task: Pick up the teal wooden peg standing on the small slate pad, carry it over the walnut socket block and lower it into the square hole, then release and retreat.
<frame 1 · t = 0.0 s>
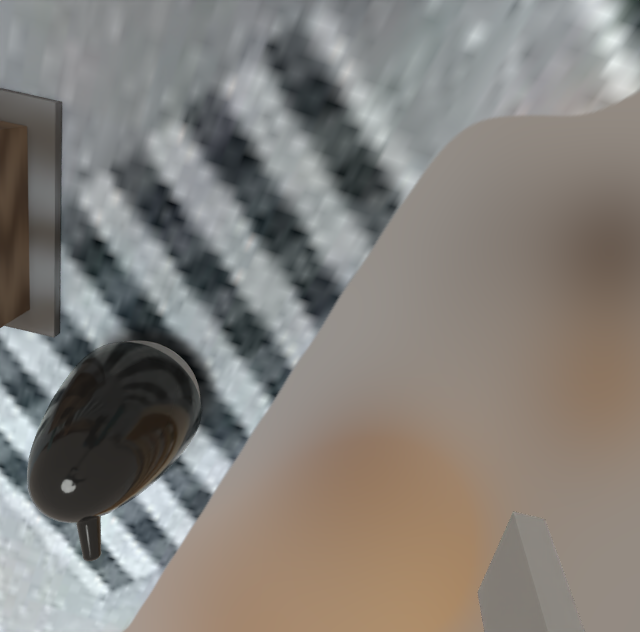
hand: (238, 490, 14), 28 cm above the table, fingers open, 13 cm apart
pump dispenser: (156, 378, 46), on the table
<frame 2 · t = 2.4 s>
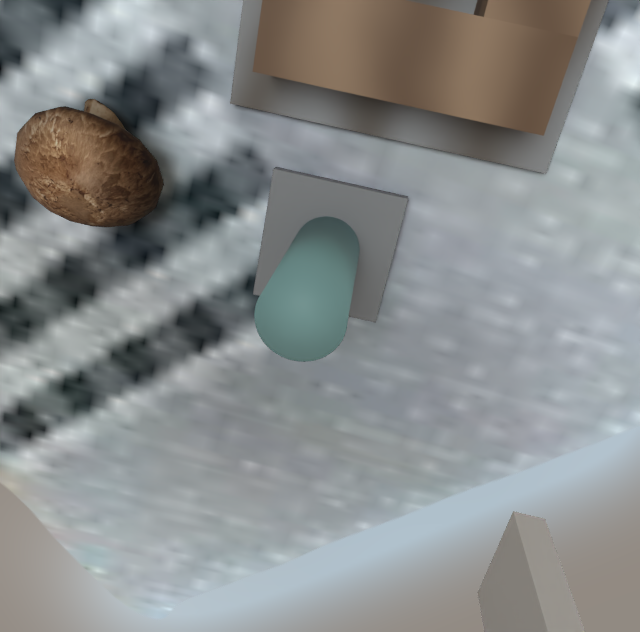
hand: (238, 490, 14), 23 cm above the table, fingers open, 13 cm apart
peg: (326, 248, 34), point 1 cm above the table, touching pad
pad: (328, 245, 35), on the table
mushroom: (114, 163, 34), on the table
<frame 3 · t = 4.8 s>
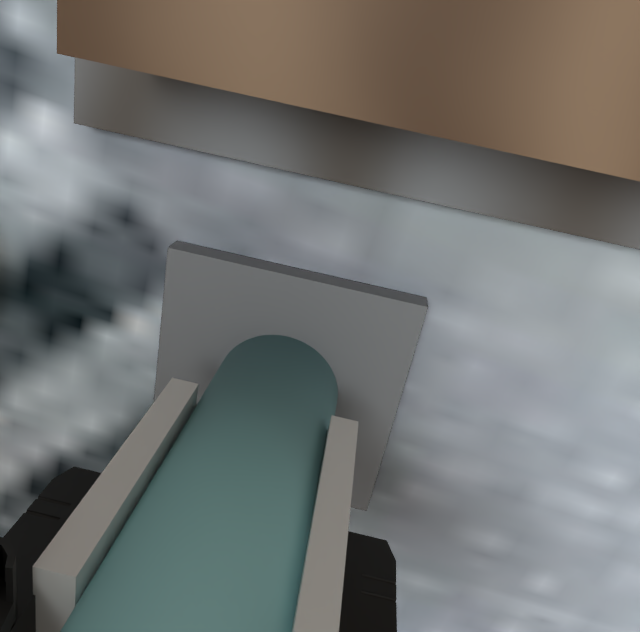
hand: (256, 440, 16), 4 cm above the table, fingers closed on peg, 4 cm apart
peg: (277, 390, 18), point 1 cm above the table, touching gripper, pad
pad: (279, 378, 19), on the table
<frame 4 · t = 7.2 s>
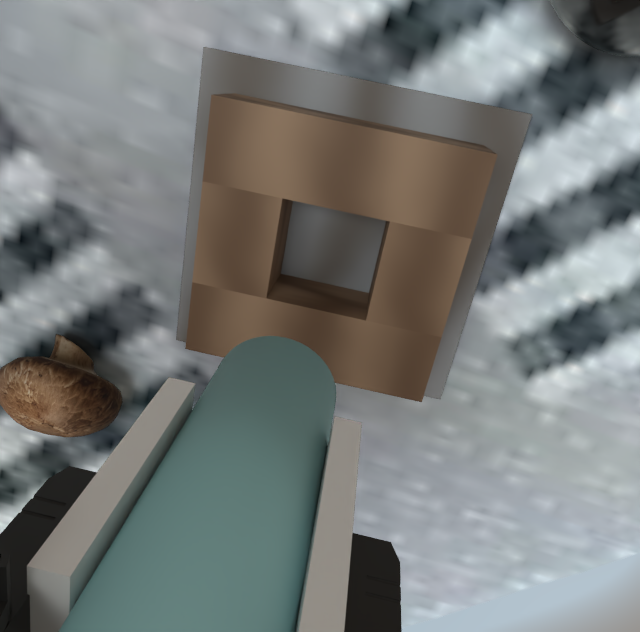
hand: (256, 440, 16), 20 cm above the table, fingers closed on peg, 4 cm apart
peg: (275, 391, 18), point 18 cm above the table, touching gripper
mushroom: (82, 372, 41), on the table
socket: (334, 236, 34), on the table
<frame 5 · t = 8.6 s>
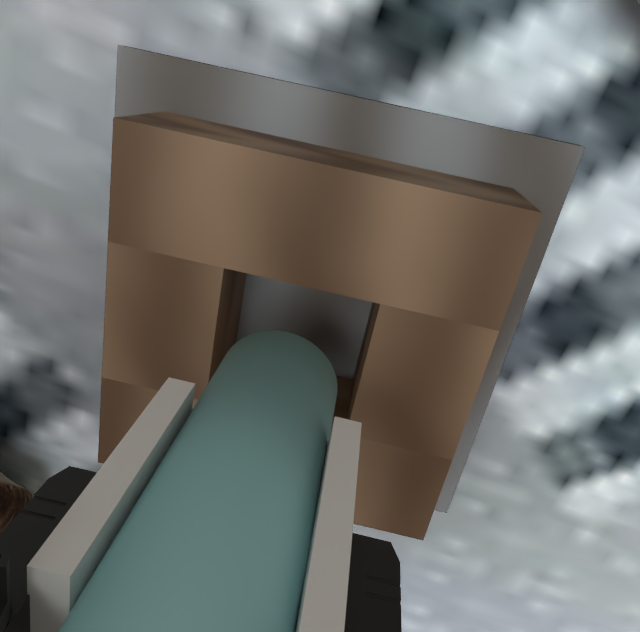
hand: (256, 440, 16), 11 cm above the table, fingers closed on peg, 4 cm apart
peg: (277, 385, 19), point 7 cm above the table, touching gripper
socket: (307, 304, 25), on the table
when the fingers open (7 cm above the table, at t = 9.5 s): peg drops 3 cm, resting on socket.
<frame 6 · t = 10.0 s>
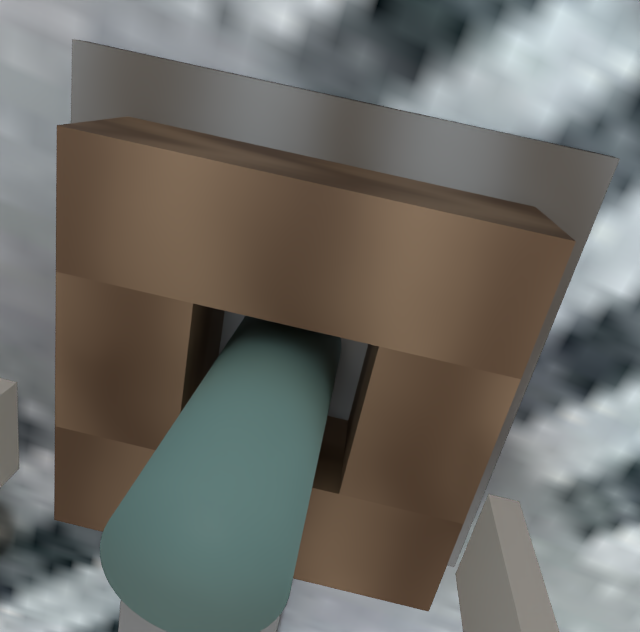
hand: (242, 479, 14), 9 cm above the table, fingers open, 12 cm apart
peg: (289, 343, 21), point 1 cm above the table, touching socket
pad: (202, 601, 29), on the table
socket: (296, 335, 22), on the table
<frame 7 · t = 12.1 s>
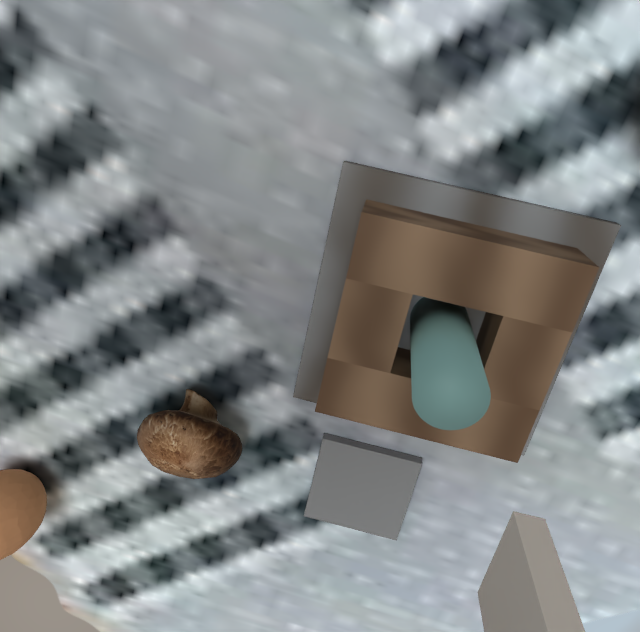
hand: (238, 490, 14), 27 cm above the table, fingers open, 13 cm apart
peg: (438, 319, 39), point 1 cm above the table, touching socket
pad: (361, 484, 46), on the table
egg: (32, 480, 51), on the table
mushroom: (203, 420, 46), on the table
socket: (439, 315, 40), on the table
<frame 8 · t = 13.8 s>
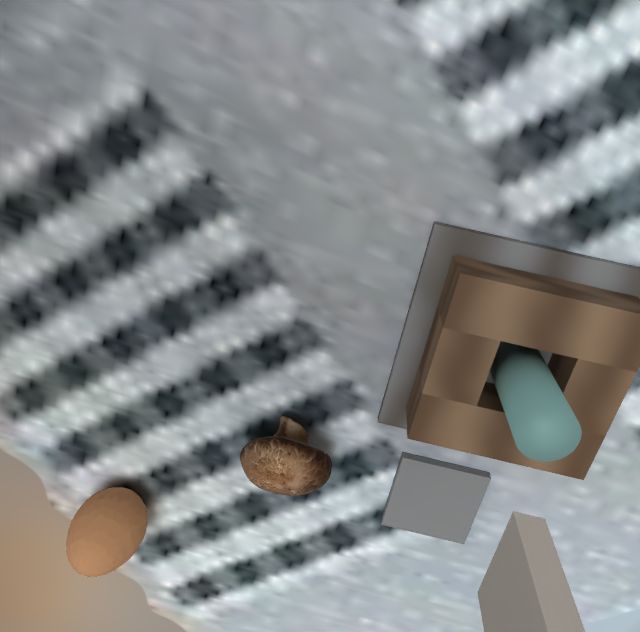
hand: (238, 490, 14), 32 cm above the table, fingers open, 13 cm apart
peg: (512, 355, 45), point 1 cm above the table, touching socket
pad: (433, 496, 52), on the table
egg: (129, 496, 57), on the table
mushroom: (291, 442, 52), on the table
socket: (511, 351, 46), on the table
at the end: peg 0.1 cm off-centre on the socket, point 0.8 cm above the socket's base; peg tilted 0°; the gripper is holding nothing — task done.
